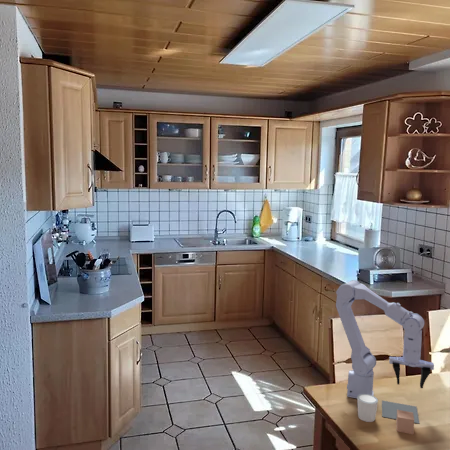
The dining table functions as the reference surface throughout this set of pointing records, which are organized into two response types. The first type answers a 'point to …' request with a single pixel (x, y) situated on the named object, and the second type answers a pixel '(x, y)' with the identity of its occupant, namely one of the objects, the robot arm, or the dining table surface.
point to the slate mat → (391, 409)
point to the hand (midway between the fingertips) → (409, 385)
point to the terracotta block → (405, 422)
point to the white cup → (367, 407)
